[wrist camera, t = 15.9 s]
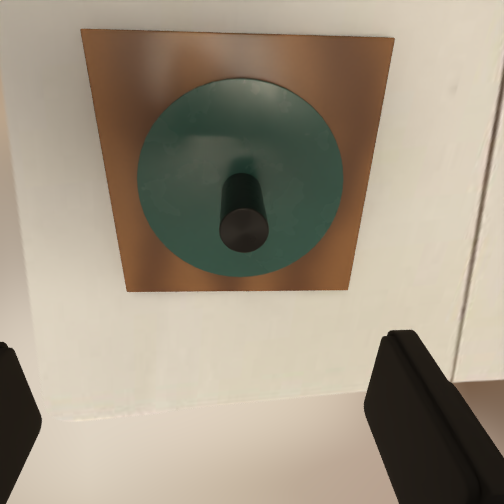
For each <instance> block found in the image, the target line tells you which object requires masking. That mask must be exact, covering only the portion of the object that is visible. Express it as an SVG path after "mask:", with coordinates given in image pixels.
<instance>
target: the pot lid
mask: <svg viewBox="0 0 504 504" xmlns="http://www.w3.org/2000/svg"><path fill="white" fill-rule="evenodd" d="M137 187H138V194H139V199H140V204H141V207H142V209H143V212H144V215H145V217H146V219H147V221H148V223H149V225H150V227H151V229H152V230H153V231H154V233H155V234H156V236H157V237H158V238H159V240H160V241H161V242H162V243H163V244H164V245H165V246H166V247H167V248H168V249H169V250H170V251H171V252H172V253H173V254H175V255H176V256H177V257H179V258H180V259H182V260H183V261H185V262H186V263H188V264H190V265H192V266H194V267H196V268H198V269H201V270H203V271H206V272H209V273H213V274H217V275H223V276H229V277H251V276H258V275H263V274H267V273H271V272H274V271H277V270H279V269H282V268H284V267H286V266H288V265H290V264H292V263H294V262H296V261H297V260H299V259H300V258H301V257H303V256H304V255H306V254H307V253H308V252H309V251H310V250H311V249H312V248H313V247H315V246H316V244H317V243H318V242H319V241H320V240H321V239H322V238H323V236H324V235H325V233H326V232H327V230H328V229H329V227H330V226H331V224H332V222H333V220H334V218H335V216H336V213H337V210H338V208H339V205H340V201H341V196H342V191H343V165H342V159H341V154H340V151H339V148H338V145H337V142H336V139H335V137H334V135H333V133H332V131H331V130H330V128H329V126H328V125H327V123H326V122H325V121H324V119H323V118H322V116H321V115H320V114H319V113H318V112H317V111H316V110H315V109H314V108H313V107H312V106H311V105H310V104H309V103H307V102H306V101H305V100H304V99H302V98H301V97H300V96H299V95H297V94H295V93H293V92H292V91H290V90H288V89H287V88H284V87H282V86H279V85H277V84H274V83H271V82H267V81H263V80H259V79H251V78H227V79H222V80H217V81H212V82H209V83H206V84H204V85H201V86H198V87H196V88H194V89H192V90H190V91H189V92H187V93H185V94H183V95H182V96H181V97H179V98H178V99H177V100H175V101H174V102H173V103H172V104H171V105H170V106H168V107H167V108H166V109H165V110H164V111H163V112H162V113H161V115H160V116H159V117H158V119H157V120H156V121H155V123H154V124H153V125H152V127H151V129H150V131H149V132H148V134H147V136H146V138H145V141H144V143H143V146H142V149H141V152H140V156H139V161H138V169H137Z"/></svg>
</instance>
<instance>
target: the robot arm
mask: <svg viewBox="0 0 504 504" xmlns="http://www.w3.org/2000/svg"><path fill="white" fill-rule="evenodd" d="M364 412H365V416H366V418H367V421H368V424H369V426H370V429H371V432H372V434H373V437H374V439H375V442H376V444H377V447H378V450H379V452H380V455H381V458H382V460H383V463H384V465H385V468H386V470H387V473H388V476H389V478H390V481H391V484H392V486H393V489H394V491H395V494H396V497H397V499H398V502H399V504H504V458H503V456H502V455H501V453H500V452H499V450H498V449H497V447H496V446H495V444H494V443H493V441H492V440H491V438H490V437H489V435H488V434H487V432H486V431H485V430H484V428H483V427H482V425H481V424H480V422H479V421H478V419H477V418H476V416H475V415H474V413H473V412H472V410H471V409H470V407H469V406H468V404H467V403H466V402H465V400H464V398H463V397H462V395H461V394H460V393H459V391H458V390H457V388H456V387H455V386H454V385H453V384H452V383H451V382H449V381H448V380H447V378H446V377H445V375H444V374H443V372H442V371H441V369H440V368H439V366H438V365H437V363H436V362H435V360H434V359H433V357H432V356H431V354H430V353H429V351H428V350H427V348H426V347H425V345H424V344H423V342H422V341H421V339H420V338H419V336H418V335H417V334H416V332H415V331H413V330H392V331H389V332H388V334H387V336H383V337H382V339H381V342H380V346H379V350H378V353H377V357H376V361H375V364H374V368H373V371H372V375H371V379H370V382H369V386H368V390H367V393H366V397H365V401H364ZM41 423H42V418H41V414H40V412H39V410H38V407H37V405H36V402H35V400H34V397H33V395H32V392H31V390H30V388H29V385H28V383H27V380H26V378H25V375H24V373H23V370H22V368H21V366H20V363H19V361H18V358H17V356H16V353H15V351H14V350H13V349H12V348H8V346H7V344H6V343H4V342H0V504H6V502H7V500H8V498H9V496H10V494H11V491H12V490H13V488H14V485H15V483H16V481H17V479H18V477H19V475H20V472H21V470H22V468H23V466H24V464H25V462H26V459H27V457H28V455H29V453H30V451H31V449H32V447H33V445H34V443H35V440H36V438H37V436H38V434H39V432H40V429H41Z"/></svg>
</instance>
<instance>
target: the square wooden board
mask: <svg viewBox="0 0 504 504" xmlns="http://www.w3.org/2000/svg"><path fill="white" fill-rule="evenodd" d="M81 36H82V42H83V47H84V53H85V59H86V64H87V70H88V75H89V81H90V87H91V92H92V98H93V104H94V109H95V115H96V121H97V126H98V132H99V137H100V143H101V149H102V154H103V160H104V166H105V171H106V177H107V182H108V188H109V194H110V199H111V205H112V211H113V216H114V222H115V228H116V233H117V239H118V244H119V250H120V256H121V261H122V267H123V273H124V278H125V284H126V289H127V292H179V291H299V290H348V287H349V281H350V276H351V271H352V265H353V260H354V255H355V249H356V244H357V238H358V233H359V228H360V222H361V217H362V212H363V206H364V201H365V196H366V190H367V185H368V180H369V174H370V169H371V163H372V158H373V153H374V147H375V142H376V137H377V131H378V126H379V121H380V115H381V110H382V105H383V99H384V94H385V89H386V83H387V78H388V72H389V67H390V62H391V56H392V51H393V46H394V40H395V39H394V38H385V37H351V36H317V35H282V34H248V33H213V32H179V31H144V30H110V29H81ZM227 78H251V79H259V80H263V81H267V82H271V83H274V84H277V85H279V86H282V87H284V88H287V89H288V90H290V91H292V92H293V93H295V94H297V95H299V96H300V97H301V98H302V99H304V100H305V101H306V102H307V103H309V104H310V105H311V106H312V107H313V108H314V109H315V110H316V111H317V112H318V113H319V114H320V115H321V116H322V118H323V119H324V121H325V122H326V123H327V125H328V126H329V128H330V130H331V131H332V133H333V135H334V137H335V139H336V142H337V145H338V148H339V151H340V154H341V159H342V165H343V191H342V196H341V201H340V205H339V208H338V210H337V213H336V216H335V218H334V220H333V222H332V224H331V226H330V227H329V229H328V230H327V232H326V233H325V235H324V236H323V238H322V239H321V240H320V241H319V242H318V243H317V244H316V246H315V247H313V248H312V249H311V250H310V251H309V252H308V253H307V254H306V255H304V256H303V257H301V258H300V259H299V260H297V261H296V262H294V263H292V264H290V265H288V266H286V267H284V268H282V269H279V270H277V271H274V272H271V273H267V274H263V275H258V276H251V277H229V276H223V275H217V274H213V273H209V272H206V271H203V270H201V269H198V268H196V267H194V266H192V265H190V264H188V263H186V262H185V261H183V260H182V259H180V258H179V257H177V256H176V255H175V254H173V253H172V252H171V251H170V250H169V249H168V248H167V247H166V246H165V245H164V244H163V243H162V242H161V241H160V240H159V238H158V237H157V236H156V234H155V233H154V231H153V230H152V229H151V227H150V225H149V223H148V221H147V219H146V217H145V215H144V212H143V209H142V207H141V204H140V199H139V194H138V187H137V169H138V161H139V156H140V152H141V149H142V146H143V143H144V141H145V138H146V136H147V134H148V132H149V131H150V129H151V127H152V125H153V124H154V123H155V121H156V120H157V119H158V117H159V116H160V115H161V113H162V112H163V111H164V110H165V109H166V108H167V107H168V106H170V105H171V104H172V103H173V102H174V101H175V100H177V99H178V98H179V97H181V96H182V95H183V94H185V93H187V92H189V91H190V90H192V89H194V88H196V87H198V86H201V85H204V84H206V83H209V82H212V81H217V80H222V79H227Z"/></svg>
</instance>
